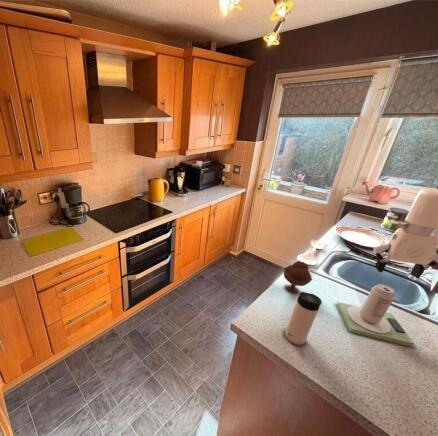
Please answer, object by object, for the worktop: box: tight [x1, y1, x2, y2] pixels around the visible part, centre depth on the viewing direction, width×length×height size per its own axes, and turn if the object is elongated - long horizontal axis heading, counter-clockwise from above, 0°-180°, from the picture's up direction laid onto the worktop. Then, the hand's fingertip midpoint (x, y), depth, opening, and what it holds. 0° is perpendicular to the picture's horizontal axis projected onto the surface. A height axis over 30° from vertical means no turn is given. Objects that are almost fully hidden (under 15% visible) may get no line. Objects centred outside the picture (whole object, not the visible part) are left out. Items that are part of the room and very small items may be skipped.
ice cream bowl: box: [283, 260, 313, 295], centre depth 103 cm, size 11×11×15 cm
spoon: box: [296, 237, 329, 266], centre depth 132 cm, size 9×32×4 cm, turn 133°
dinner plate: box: [334, 225, 389, 249], centre depth 147 cm, size 28×27×3 cm
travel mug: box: [284, 291, 322, 346], centre depth 79 cm, size 6×7×20 cm
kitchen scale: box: [336, 301, 415, 348], centre depth 88 cm, size 18×14×3 cm
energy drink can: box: [359, 283, 396, 324], centre depth 85 cm, size 6×6×15 cm
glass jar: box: [380, 207, 410, 233], centre depth 159 cm, size 10×10×14 cm
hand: (396, 272), depth 79 cm, fingers open, 9 cm apart
